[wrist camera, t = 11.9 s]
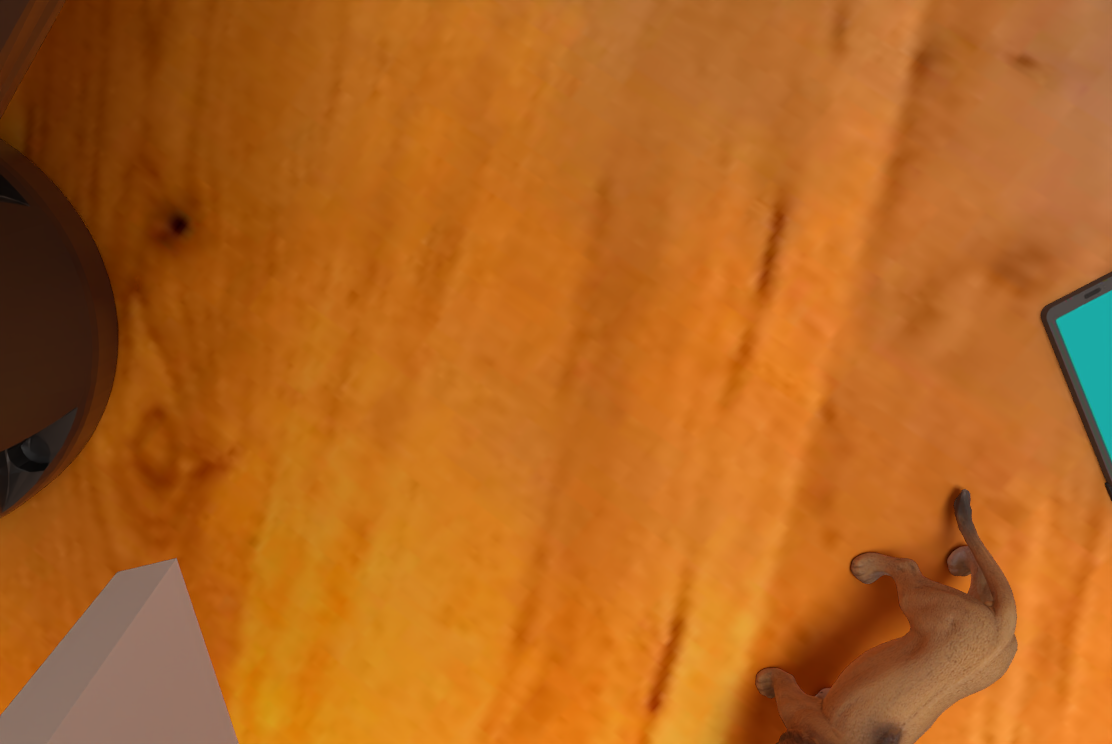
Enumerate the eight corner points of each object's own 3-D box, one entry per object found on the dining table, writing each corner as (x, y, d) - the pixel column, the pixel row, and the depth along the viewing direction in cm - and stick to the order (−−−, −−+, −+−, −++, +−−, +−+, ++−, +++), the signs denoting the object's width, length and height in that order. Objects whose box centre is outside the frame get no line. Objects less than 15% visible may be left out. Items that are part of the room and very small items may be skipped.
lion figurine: (804, 802, 42) (890, 976, 33) (698, 749, 41) (759, 913, 32) (1008, 514, 39) (1159, 618, 31) (902, 450, 39) (1027, 538, 30)
